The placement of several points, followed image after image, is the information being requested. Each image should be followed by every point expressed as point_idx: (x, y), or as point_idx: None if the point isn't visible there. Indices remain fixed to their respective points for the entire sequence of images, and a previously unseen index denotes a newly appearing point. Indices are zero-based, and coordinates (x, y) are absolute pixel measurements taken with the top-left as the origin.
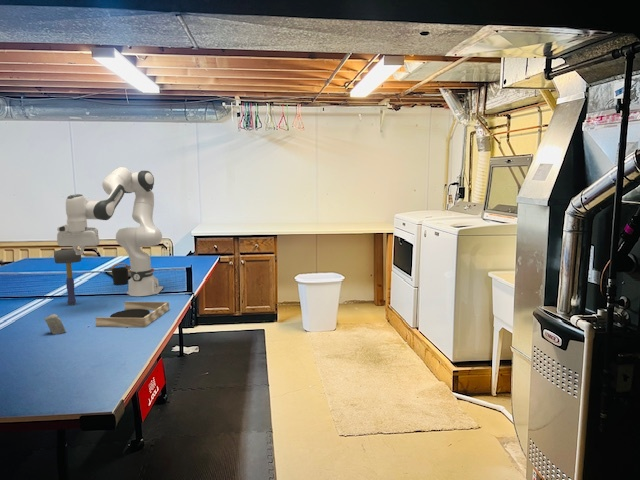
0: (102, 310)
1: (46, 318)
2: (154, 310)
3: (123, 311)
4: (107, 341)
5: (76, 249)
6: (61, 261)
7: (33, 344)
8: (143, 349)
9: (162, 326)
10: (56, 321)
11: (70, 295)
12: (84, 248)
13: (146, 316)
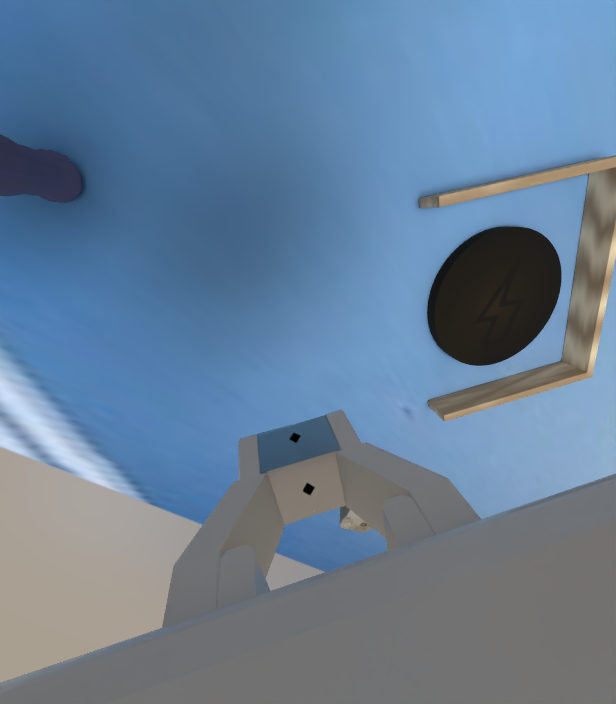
0: (327, 244)
1: (352, 528)
2: (603, 291)
3: (458, 277)
4: (515, 469)
5: (261, 547)
6: None
7: (364, 538)
8: (601, 471)
9: (610, 344)
10: None
11: (47, 191)
12: (422, 471)
13: (593, 358)
